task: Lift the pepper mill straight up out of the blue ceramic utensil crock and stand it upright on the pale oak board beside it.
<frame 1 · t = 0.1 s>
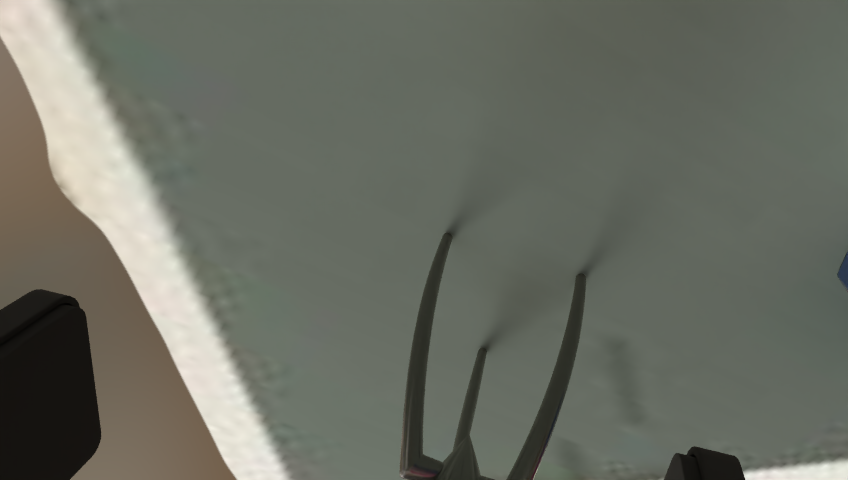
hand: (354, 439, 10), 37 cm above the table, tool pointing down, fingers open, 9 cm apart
juicer: (489, 274, 50), on the table
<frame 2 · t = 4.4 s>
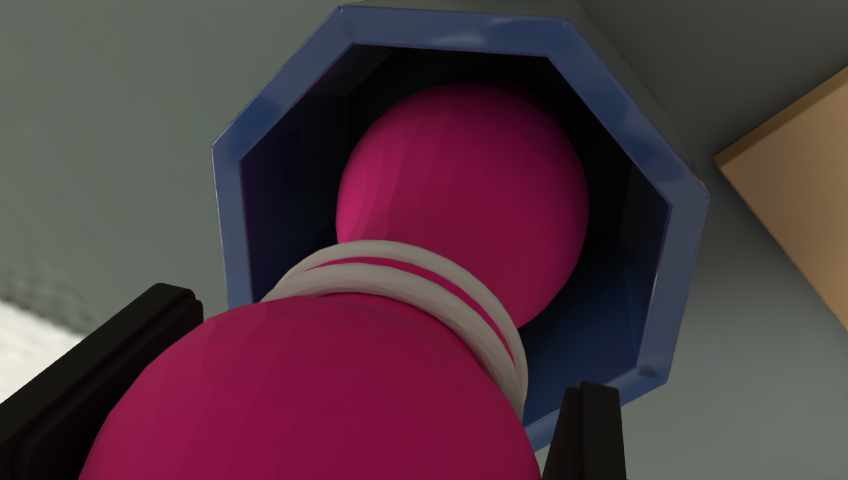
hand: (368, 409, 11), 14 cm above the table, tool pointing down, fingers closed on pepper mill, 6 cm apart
pepper mill: (483, 164, 23), resting in utensil crock, touching gripper
utensil crock: (482, 165, 23), on the table
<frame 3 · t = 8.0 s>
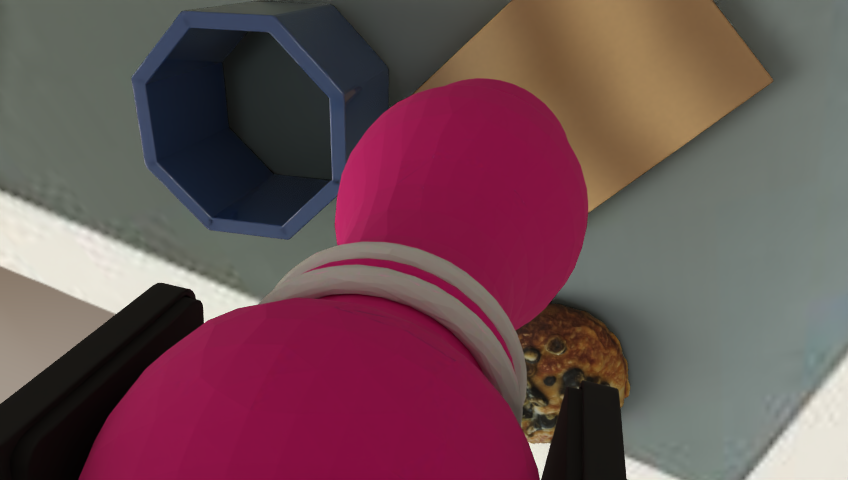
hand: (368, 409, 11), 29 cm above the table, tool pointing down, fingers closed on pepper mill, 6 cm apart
oak board: (580, 85, 36), on the table
pepper mill: (482, 165, 23), point 16 cm above the table, touching gripper
bread roll: (545, 365, 44), on the table
utensil crock: (299, 100, 40), on the table
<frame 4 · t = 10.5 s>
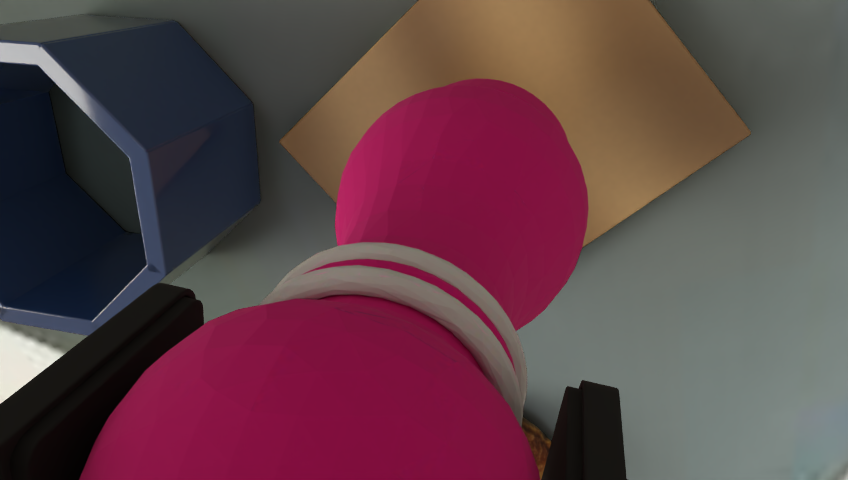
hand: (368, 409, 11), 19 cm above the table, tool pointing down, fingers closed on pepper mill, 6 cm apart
oak board: (498, 130, 27), on the table
pepper mill: (482, 165, 23), point 5 cm above the table, touching gripper
bread roll: (470, 469, 35), on the table
utensil crock: (147, 142, 31), on the table
when the fingers open (15 cm above the table, at t = 12.0 s): pepper mill stays where it is, resting on oak board.
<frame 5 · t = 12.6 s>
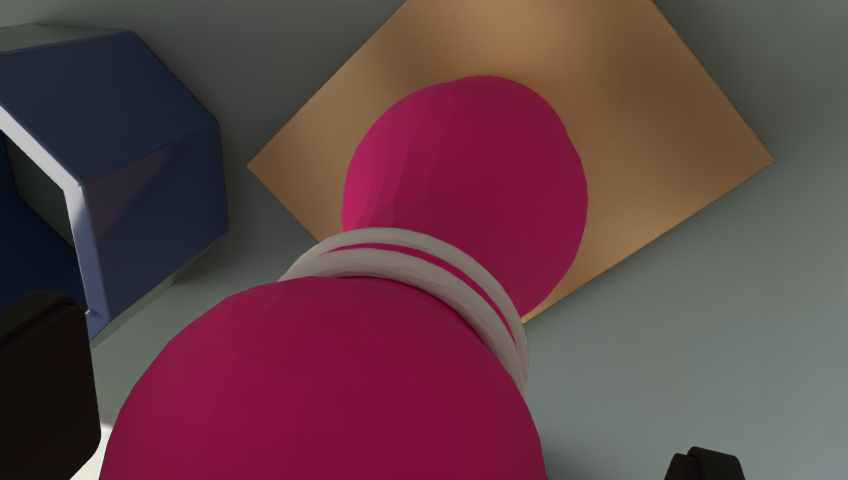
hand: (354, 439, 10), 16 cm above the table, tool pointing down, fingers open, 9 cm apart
oak board: (489, 154, 24), on the table
pepper mill: (484, 161, 23), point 1 cm above the table, touching oak board
utensil crock: (104, 164, 28), on the table
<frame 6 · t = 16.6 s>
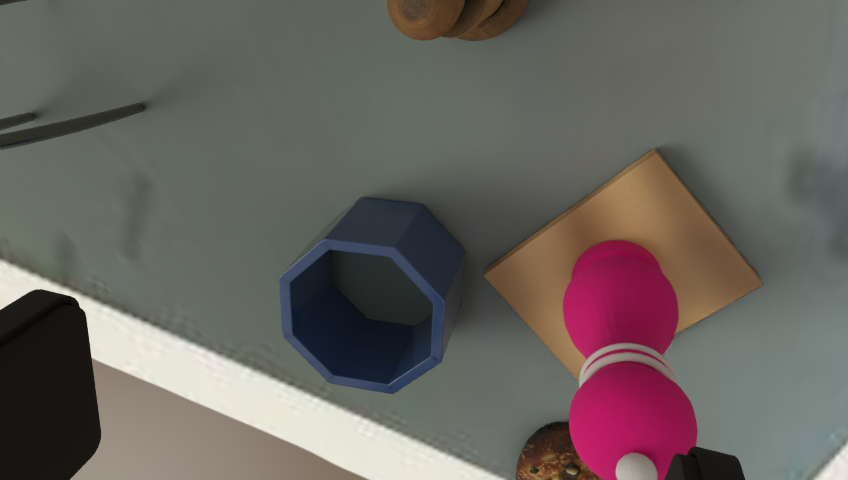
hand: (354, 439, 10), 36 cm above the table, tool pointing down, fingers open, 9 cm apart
oak board: (615, 272, 47), on the table
pepper mill: (616, 278, 46), point 1 cm above the table, touching oak board
bread roll: (580, 469, 55), on the table
juicer: (68, 53, 50), on the table
utensil crock: (390, 268, 51), on the table
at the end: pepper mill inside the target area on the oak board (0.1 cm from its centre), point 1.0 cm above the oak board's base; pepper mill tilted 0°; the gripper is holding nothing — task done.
